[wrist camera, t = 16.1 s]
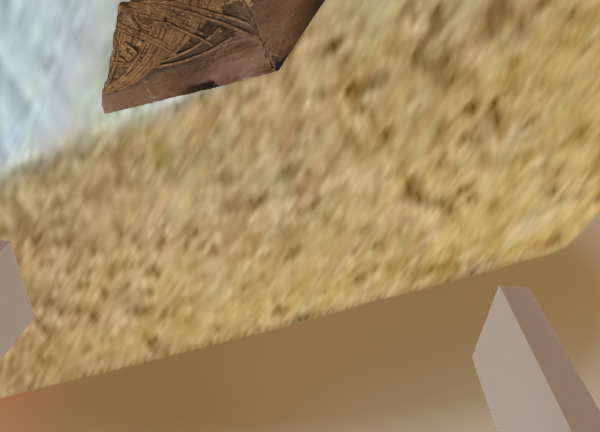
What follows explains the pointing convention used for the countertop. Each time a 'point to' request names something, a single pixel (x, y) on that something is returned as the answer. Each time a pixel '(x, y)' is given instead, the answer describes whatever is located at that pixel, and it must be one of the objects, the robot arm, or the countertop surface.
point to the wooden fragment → (198, 45)
